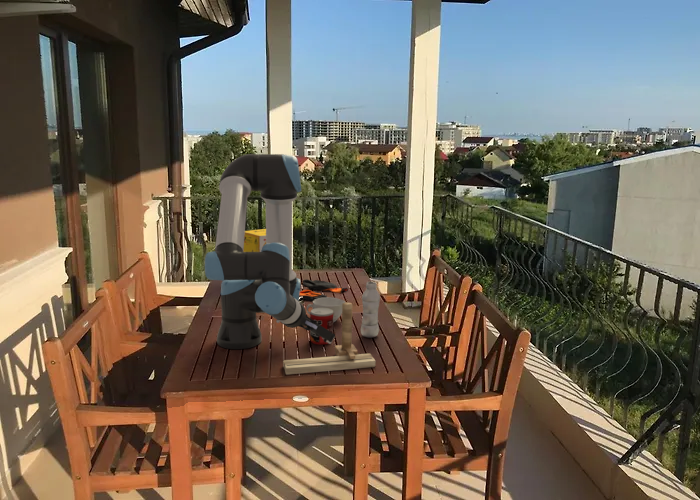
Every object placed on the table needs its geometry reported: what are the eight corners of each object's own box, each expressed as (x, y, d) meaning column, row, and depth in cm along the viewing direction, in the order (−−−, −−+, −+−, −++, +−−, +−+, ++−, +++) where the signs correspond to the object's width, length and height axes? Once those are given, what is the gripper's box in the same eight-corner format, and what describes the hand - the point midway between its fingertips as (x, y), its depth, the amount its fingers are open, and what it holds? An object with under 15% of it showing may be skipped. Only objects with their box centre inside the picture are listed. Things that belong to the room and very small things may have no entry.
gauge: (335, 354, 175) (336, 301, 172) (352, 352, 177) (353, 300, 173) (343, 367, 165) (344, 312, 162) (361, 366, 167) (363, 311, 163)
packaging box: (260, 288, 252) (259, 236, 247) (242, 281, 264) (241, 231, 259) (288, 282, 263) (288, 232, 258) (269, 276, 275) (269, 228, 270)
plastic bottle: (356, 336, 192) (358, 282, 188) (369, 331, 197) (371, 279, 193) (369, 341, 188) (371, 286, 184) (382, 336, 193) (384, 283, 189)
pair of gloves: (317, 304, 230) (317, 297, 230) (273, 295, 243) (273, 288, 242) (350, 290, 253) (351, 283, 252) (309, 282, 266) (309, 276, 265)
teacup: (342, 315, 215) (343, 296, 214) (346, 325, 203) (346, 305, 202) (305, 315, 213) (305, 296, 212) (306, 326, 201) (307, 306, 200)
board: (283, 366, 165) (283, 360, 164) (369, 359, 172) (370, 353, 172) (286, 374, 159) (286, 368, 159) (375, 366, 166) (375, 360, 166)
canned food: (307, 338, 189) (307, 308, 187) (328, 336, 192) (329, 306, 190) (313, 346, 182) (314, 315, 180) (335, 343, 185) (336, 313, 183)
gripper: (247, 304, 151) (276, 323, 170) (318, 343, 141) (341, 359, 160) (261, 281, 153) (288, 303, 172) (332, 318, 143) (353, 337, 162)
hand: (313, 330), depth 166 cm, fingers open, 13 cm apart
